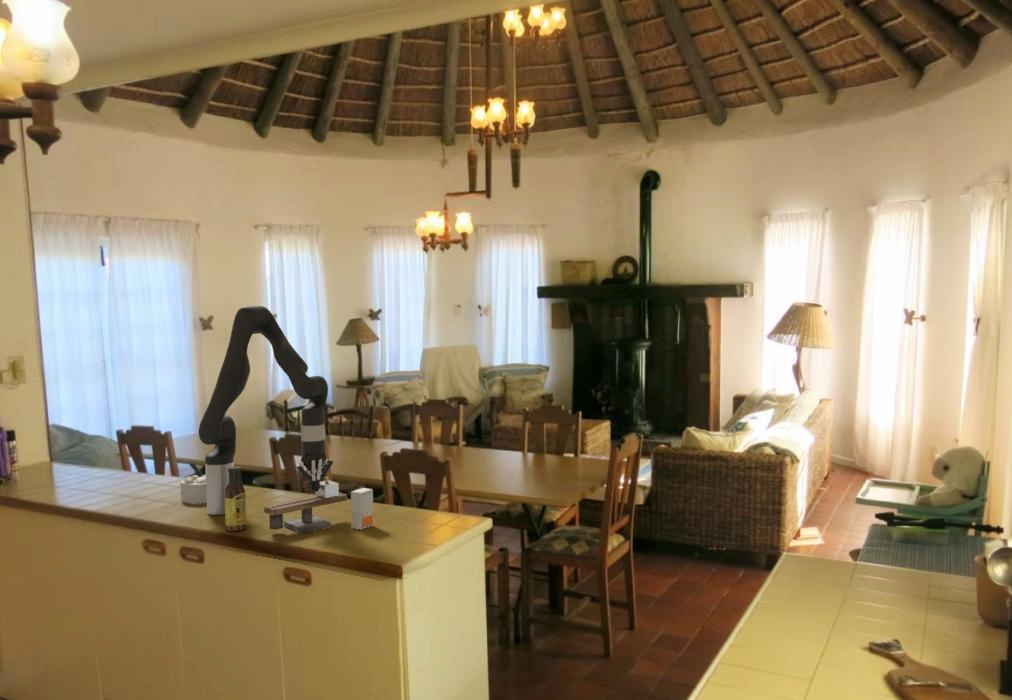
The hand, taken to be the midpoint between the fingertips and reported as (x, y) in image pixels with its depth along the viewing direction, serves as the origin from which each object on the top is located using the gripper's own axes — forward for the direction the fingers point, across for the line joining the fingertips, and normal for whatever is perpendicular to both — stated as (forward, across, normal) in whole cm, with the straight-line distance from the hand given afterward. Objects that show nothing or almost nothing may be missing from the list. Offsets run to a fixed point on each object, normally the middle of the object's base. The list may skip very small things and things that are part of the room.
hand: (314, 491), depth 245 cm
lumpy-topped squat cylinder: (+11, +15, -60) cm, 63 cm away
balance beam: (+11, +3, 0) cm, 11 cm away
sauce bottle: (+11, +20, -14) cm, 27 cm away
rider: (+4, -4, 0) cm, 6 cm away
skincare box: (+11, -10, +13) cm, 20 cm away
